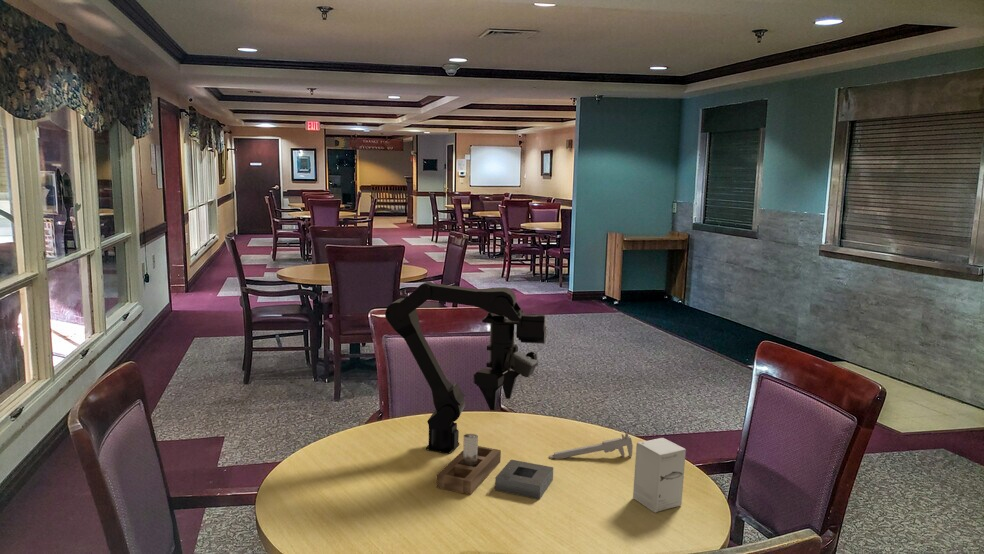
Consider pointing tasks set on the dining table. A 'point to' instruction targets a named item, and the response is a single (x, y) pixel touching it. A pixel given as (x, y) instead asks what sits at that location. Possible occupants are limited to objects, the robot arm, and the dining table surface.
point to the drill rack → (468, 471)
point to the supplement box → (659, 474)
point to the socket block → (524, 479)
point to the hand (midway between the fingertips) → (500, 404)
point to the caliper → (599, 448)
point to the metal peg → (470, 450)
